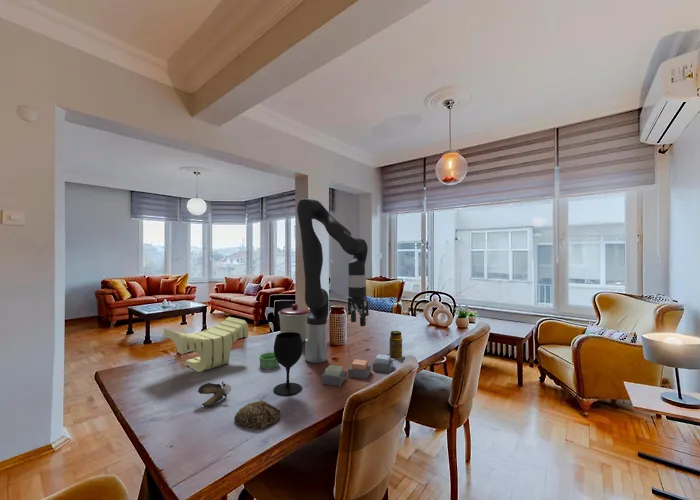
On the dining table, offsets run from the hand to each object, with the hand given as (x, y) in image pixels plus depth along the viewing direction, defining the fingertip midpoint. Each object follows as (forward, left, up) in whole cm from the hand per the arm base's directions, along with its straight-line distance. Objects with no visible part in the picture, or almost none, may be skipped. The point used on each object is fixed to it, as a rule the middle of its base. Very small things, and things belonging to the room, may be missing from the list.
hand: (358, 324), depth 131 cm
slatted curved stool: (-65, -13, -21) cm, 70 cm away
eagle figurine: (-39, -39, -21) cm, 59 cm away
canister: (-45, +31, -21) cm, 59 cm away
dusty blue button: (+9, +8, -18) cm, 22 cm away
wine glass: (-20, -24, -21) cm, 37 cm away
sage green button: (-7, -11, -18) cm, 22 cm away
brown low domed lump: (-19, -44, -21) cm, 52 cm away
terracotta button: (+1, -2, -18) cm, 18 cm away
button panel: (+1, -2, -20) cm, 20 cm away
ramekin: (-39, -5, -21) cm, 45 cm away
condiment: (+12, +24, -21) cm, 34 cm away
